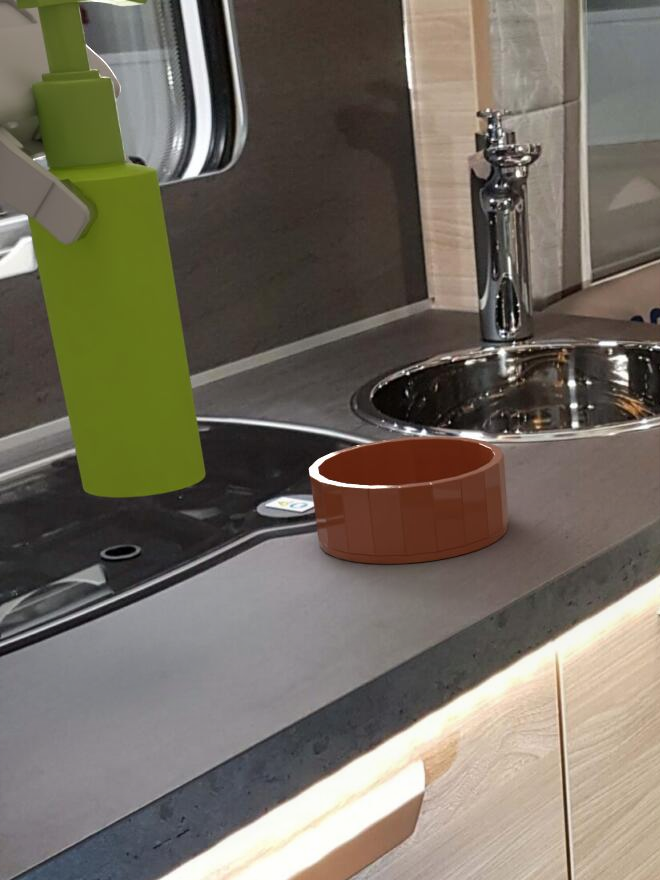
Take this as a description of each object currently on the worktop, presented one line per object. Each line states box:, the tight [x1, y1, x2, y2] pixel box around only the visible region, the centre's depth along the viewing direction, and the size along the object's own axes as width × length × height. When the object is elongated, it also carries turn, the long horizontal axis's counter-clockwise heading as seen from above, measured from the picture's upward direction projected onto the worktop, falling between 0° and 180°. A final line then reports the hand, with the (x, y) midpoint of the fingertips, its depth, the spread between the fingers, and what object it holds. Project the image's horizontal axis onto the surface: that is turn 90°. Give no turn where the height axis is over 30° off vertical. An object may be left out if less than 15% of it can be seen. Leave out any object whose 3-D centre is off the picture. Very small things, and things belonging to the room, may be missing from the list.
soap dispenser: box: [16, 0, 206, 498], centre depth 69 cm, size 6×7×20 cm
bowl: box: [308, 435, 509, 565], centre depth 97 cm, size 12×12×4 cm
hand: (115, 217), depth 68 cm, fingers closed on soap dispenser, 6 cm apart
